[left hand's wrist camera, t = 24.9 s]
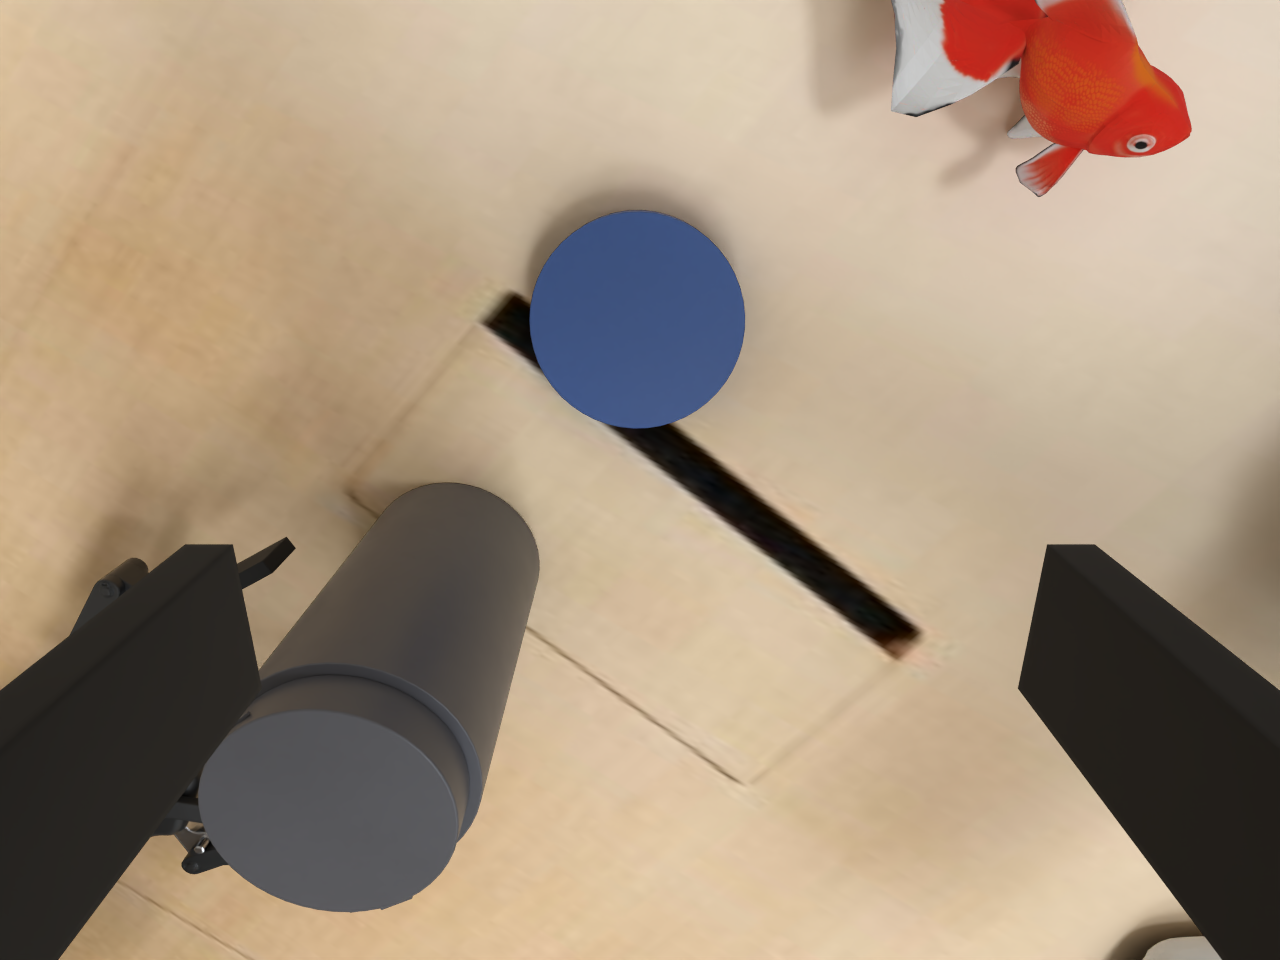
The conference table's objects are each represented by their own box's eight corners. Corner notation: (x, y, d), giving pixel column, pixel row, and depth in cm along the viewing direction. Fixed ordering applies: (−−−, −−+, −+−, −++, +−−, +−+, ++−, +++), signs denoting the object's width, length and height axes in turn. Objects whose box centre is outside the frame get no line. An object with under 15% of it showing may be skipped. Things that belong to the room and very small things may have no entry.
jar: (336, 522, 45) (123, 759, 27) (490, 455, 44) (379, 656, 25) (422, 657, 49) (286, 953, 30) (568, 599, 47) (520, 872, 28)
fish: (997, 305, 36) (1119, 183, 26) (772, 83, 39) (808, -102, 29) (1159, 168, 37) (1334, 2, 28) (929, -38, 40) (1014, -257, 30)
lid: (701, 439, 44) (704, 453, 41) (513, 383, 43) (506, 394, 40) (769, 247, 40) (776, 251, 38) (565, 180, 39) (561, 180, 37)
